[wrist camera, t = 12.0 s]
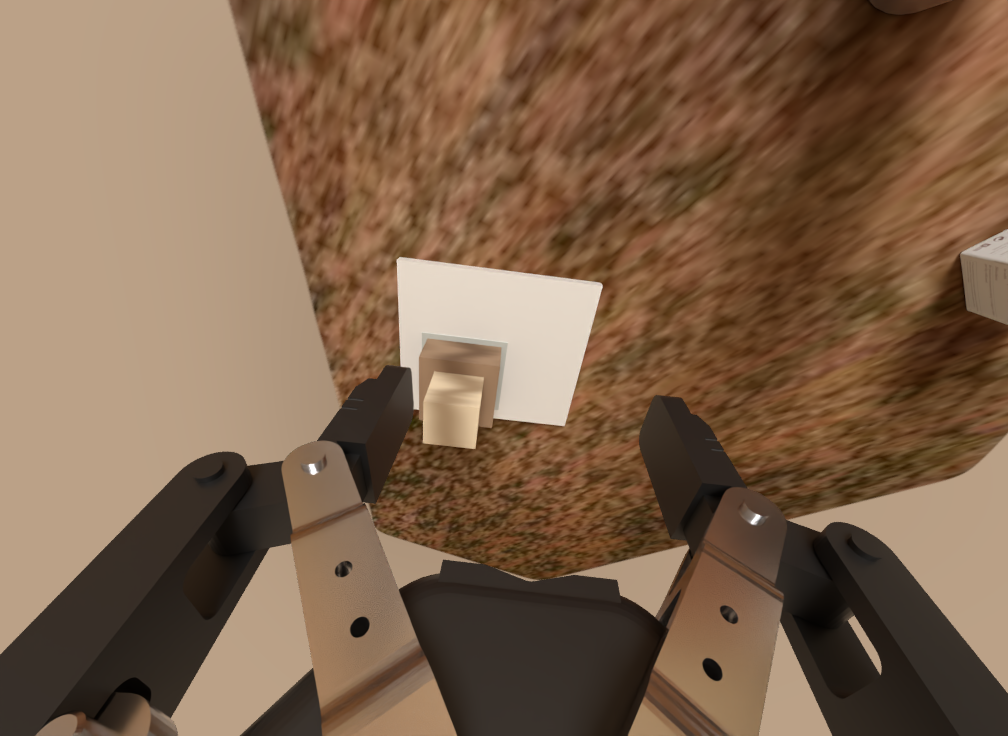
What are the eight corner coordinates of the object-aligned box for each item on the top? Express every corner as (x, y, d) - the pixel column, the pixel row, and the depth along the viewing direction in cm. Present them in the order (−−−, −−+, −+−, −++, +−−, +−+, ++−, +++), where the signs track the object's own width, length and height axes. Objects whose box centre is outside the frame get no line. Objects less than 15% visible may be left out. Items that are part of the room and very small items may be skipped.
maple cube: (484, 377, 36) (479, 408, 32) (479, 415, 39) (475, 448, 35) (434, 371, 36) (423, 401, 32) (433, 410, 39) (423, 443, 34)
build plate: (600, 282, 36) (603, 286, 35) (563, 420, 46) (564, 426, 45) (399, 257, 35) (396, 260, 34) (404, 402, 45) (402, 408, 44)
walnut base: (501, 347, 39) (500, 366, 36) (493, 405, 43) (491, 428, 40) (427, 338, 39) (418, 356, 35) (426, 398, 43) (419, 419, 40)
